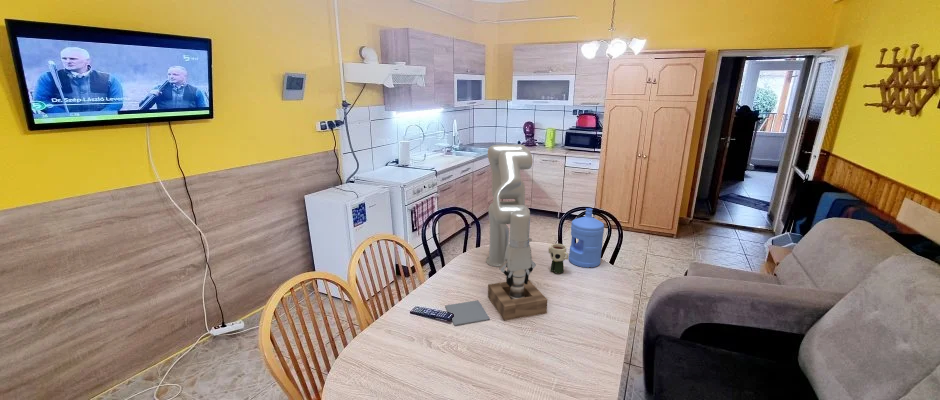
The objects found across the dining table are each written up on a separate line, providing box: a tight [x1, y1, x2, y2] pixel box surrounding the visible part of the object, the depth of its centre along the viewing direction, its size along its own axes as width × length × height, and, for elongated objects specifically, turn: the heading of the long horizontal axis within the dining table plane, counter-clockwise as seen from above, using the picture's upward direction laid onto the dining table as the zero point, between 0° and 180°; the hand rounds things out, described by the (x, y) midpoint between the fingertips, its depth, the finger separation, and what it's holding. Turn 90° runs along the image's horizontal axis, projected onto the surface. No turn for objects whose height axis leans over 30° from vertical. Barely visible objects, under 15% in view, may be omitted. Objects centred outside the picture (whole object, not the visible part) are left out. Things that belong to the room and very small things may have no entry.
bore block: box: [487, 279, 548, 322], centre depth 162 cm, size 18×18×6 cm
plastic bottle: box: [509, 269, 526, 300], centre depth 160 cm, size 6×7×20 cm
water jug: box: [568, 207, 605, 269], centre depth 199 cm, size 16×16×28 cm
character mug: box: [548, 243, 569, 274], centre depth 190 cm, size 11×7×13 cm, turn 44°
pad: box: [445, 299, 491, 327], centre depth 156 cm, size 14×14×1 cm
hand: (517, 283), depth 160 cm, fingers closed on plastic bottle, 6 cm apart
